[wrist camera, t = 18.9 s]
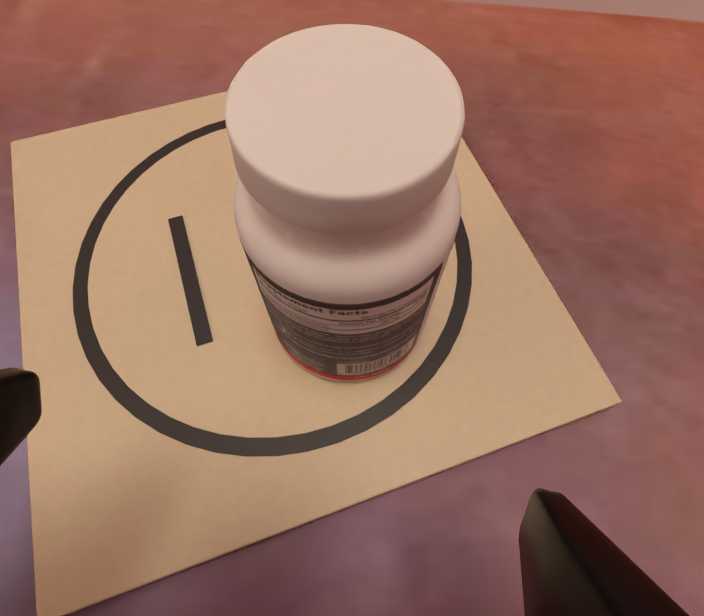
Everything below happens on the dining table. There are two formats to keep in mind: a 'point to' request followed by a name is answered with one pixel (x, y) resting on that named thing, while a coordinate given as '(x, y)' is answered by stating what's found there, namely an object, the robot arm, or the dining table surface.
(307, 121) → the pill bottle
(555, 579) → the robot arm
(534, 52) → the dining table surface
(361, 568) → the dining table surface
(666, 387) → the dining table surface
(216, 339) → the board
